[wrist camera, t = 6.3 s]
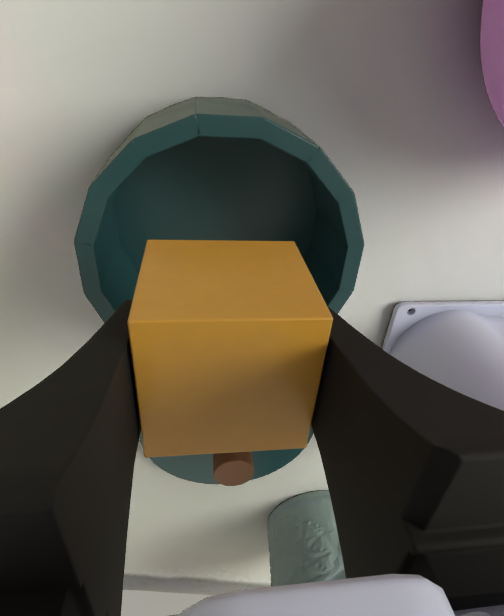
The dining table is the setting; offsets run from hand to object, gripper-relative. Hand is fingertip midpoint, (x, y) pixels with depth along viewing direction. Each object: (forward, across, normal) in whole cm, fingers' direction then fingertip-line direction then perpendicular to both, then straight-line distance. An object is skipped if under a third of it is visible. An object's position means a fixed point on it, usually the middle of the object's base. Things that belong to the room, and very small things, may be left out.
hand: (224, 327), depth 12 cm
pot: (+10, 0, +1) cm, 10 cm away
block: (+1, 0, 0) cm, 1 cm away
